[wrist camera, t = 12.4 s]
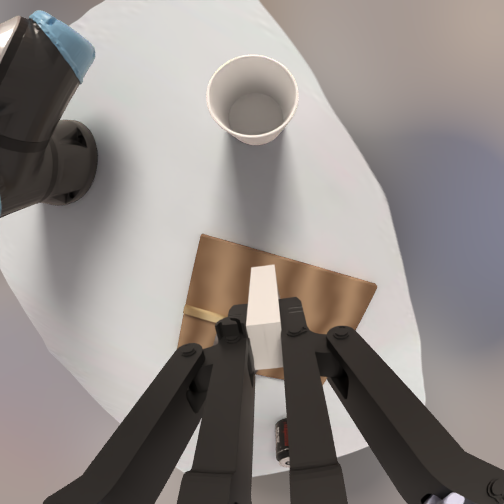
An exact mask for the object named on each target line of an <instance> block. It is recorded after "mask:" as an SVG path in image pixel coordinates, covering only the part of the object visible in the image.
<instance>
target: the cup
mask: <svg viewBox="0 0 504 504" xmlns="http://www.w3.org/2000/svg"><path fill="white" fill-rule="evenodd" d="M298 97H299V96H298V88H297V84H296V81H295V79H294V77H293V76H292V74H291V73H290V72H289V70H288V69H287V68H286V67H285V66H283V65H282V64H281V63H279V62H278V61H276V60H274V59H272V58H269V57H266V56H261V55H244V56H240V57H236V58H234V59H231V60H229V61H228V62H226V63H224V64H223V65H222V66H221V67H220V68H219V69H217V71H216V72H215V73H214V74H213V76H212V78H211V79H210V82H209V84H208V88H207V94H206V99H207V105H208V109H209V112H210V114H211V116H212V117H213V119H214V120H215V122H216V123H217V124H218V125H219V126H220V127H221V128H222V129H224V130H225V131H227V132H228V133H229V134H231V135H232V136H234V137H235V138H237V139H238V140H240V141H241V142H243V143H246V144H249V145H263V144H266V143H269V142H271V141H272V140H274V139H275V138H276V137H277V136H278V135H279V134H280V133H281V131H282V130H283V129H284V128H285V126H286V125H287V124H288V123H289V121H290V120H291V119H292V117H293V116H294V114H295V111H296V109H297V105H298Z"/></svg>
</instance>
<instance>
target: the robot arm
mask: <svg viewBox="0 0 504 504" xmlns="http://www.w3.org/2000/svg"><path fill="white" fill-rule="evenodd" d="M94 59H95V49H94V47H93V46H92V44H91V43H90V42H89V41H87V40H86V39H85V38H84V37H83V36H81V35H80V34H79V33H77V32H76V31H75V30H73V29H72V28H71V27H69V26H68V25H66V24H65V23H63V22H61V21H60V20H57V19H56V18H54V17H52V16H51V15H50V14H48V13H46V12H44V11H40V10H38V11H35V12H34V13H33V14H32V15H30V17H29V19H26V18H23V17H20V16H16V17H14V18H12V19H10V20H8V21H6V22H4V23H1V24H0V218H1V217H3V216H6V215H8V214H11V213H13V212H16V211H18V210H21V209H23V208H26V207H29V206H31V205H34V204H37V203H45V204H51V205H57V206H60V205H66V204H69V203H72V202H75V201H77V200H79V199H80V198H81V197H82V196H84V194H85V193H86V192H87V191H88V189H89V188H90V186H91V184H92V182H93V180H94V177H95V173H96V169H97V148H96V143H95V140H94V138H93V135H92V134H91V132H90V130H89V129H88V128H87V127H86V126H85V125H84V124H82V123H80V122H78V121H74V120H60V118H61V116H62V115H63V113H64V111H65V109H66V107H67V105H68V103H69V102H70V100H71V98H72V96H73V95H74V93H75V91H76V90H77V88H78V86H79V85H80V84H82V82H83V78H84V76H85V74H86V72H87V71H88V69H89V67H90V66H91V64H92V63H93V61H94ZM59 120H60V121H59ZM215 329H216V333H217V337H218V344H216V345H214V346H211V347H208V348H205V349H202V346H201V345H199V344H197V343H188V344H184V345H182V346H180V347H179V348H178V349H177V350H176V351H175V352H174V354H173V355H172V356H171V358H170V359H169V360H168V362H167V363H166V364H165V366H164V367H163V368H162V370H161V371H160V372H159V374H158V375H157V376H156V378H155V379H154V380H153V382H152V383H151V384H150V386H149V387H148V388H147V390H146V391H145V392H144V394H143V395H142V396H141V398H140V399H139V400H138V402H137V403H136V404H135V406H134V407H133V408H132V410H131V411H130V412H129V414H128V415H127V416H126V418H125V419H124V420H123V422H122V423H121V424H120V426H119V427H118V428H117V430H116V431H115V432H114V433H113V435H112V436H111V437H110V439H109V440H108V441H107V443H106V444H105V445H104V447H103V448H102V450H101V451H100V452H99V453H98V455H97V456H96V457H95V459H94V460H93V461H92V463H91V464H90V465H89V467H88V468H87V470H86V471H85V472H84V474H83V475H82V476H81V477H79V478H77V479H76V480H75V481H73V482H71V483H70V484H68V485H67V486H65V487H64V488H62V489H61V490H59V491H57V492H56V493H54V494H53V495H51V496H49V497H48V498H46V500H44V502H43V504H155V502H156V500H157V498H158V496H159V495H160V493H161V491H162V489H163V488H164V486H165V484H166V482H167V481H168V479H169V477H170V475H171V473H172V471H173V470H174V468H175V466H176V464H177V463H178V461H179V459H180V457H181V455H182V454H183V452H184V450H185V448H186V446H187V444H188V442H189V441H190V439H191V437H192V435H193V433H194V431H195V429H196V427H197V426H198V424H199V422H200V420H201V418H202V421H201V425H200V430H199V435H198V440H197V445H196V450H195V455H194V460H193V465H192V469H191V470H190V471H187V472H185V474H184V475H183V478H182V481H181V486H180V491H179V496H178V500H177V504H252V502H251V479H252V456H253V429H254V401H255V374H254V367H255V370H261V369H271V368H280V367H283V370H284V384H285V398H286V412H287V427H288V444H289V462H290V498H291V504H348V502H347V496H346V491H345V484H344V479H343V473H342V469H341V466H340V464H339V463H338V461H337V457H336V451H335V446H334V441H333V435H332V430H331V425H330V420H329V415H328V410H327V405H326V401H325V396H324V391H323V386H322V382H321V377H320V376H322V377H327V380H328V382H329V383H330V385H331V387H332V388H333V390H334V391H335V393H336V395H337V396H338V398H339V399H340V401H341V402H342V404H343V406H344V407H345V409H346V410H347V412H348V413H349V415H350V417H351V418H352V420H353V421H354V423H355V424H356V426H357V428H358V429H359V431H360V432H361V434H362V435H363V437H364V439H365V440H366V442H367V443H368V445H369V446H370V448H371V450H372V451H373V453H374V454H375V456H376V457H377V459H378V460H379V462H380V464H381V465H382V467H383V468H384V470H385V471H386V473H387V475H388V476H389V478H390V479H391V481H392V482H393V484H394V485H395V487H396V489H397V490H398V492H399V493H400V495H401V496H402V497H403V499H404V500H405V501H406V502H407V503H408V504H504V470H502V469H500V468H498V467H495V466H493V465H491V464H489V463H487V462H485V461H483V460H481V459H479V458H477V457H475V456H473V455H471V454H469V453H467V452H465V451H464V450H463V449H462V448H461V447H460V445H459V444H458V443H457V442H456V441H455V440H454V439H453V437H452V436H451V435H450V434H449V433H448V432H447V430H446V429H445V428H444V427H443V426H442V425H441V424H440V423H439V421H438V420H437V419H436V418H435V417H434V416H433V415H432V414H431V412H430V411H429V410H428V409H427V408H426V407H425V406H424V405H423V403H422V402H421V401H420V400H419V399H418V398H417V397H416V396H415V395H414V393H413V392H412V391H411V390H410V389H409V388H408V387H407V386H406V385H405V384H404V382H403V381H402V380H401V379H400V378H399V377H398V376H397V375H396V374H395V373H394V372H393V370H392V369H391V368H390V367H389V366H388V365H387V364H386V363H385V362H384V361H383V360H382V359H381V357H380V356H379V355H378V354H377V353H376V352H375V351H374V350H373V349H372V348H371V347H370V346H369V345H368V344H367V342H366V341H365V340H364V339H363V338H362V337H361V336H360V335H359V334H358V333H357V332H356V331H355V330H354V329H353V328H351V327H349V326H335V327H333V328H331V329H330V330H329V331H328V332H327V334H318V333H314V332H312V331H310V330H309V328H308V327H307V323H306V319H305V315H304V311H303V307H302V303H301V300H299V299H298V298H297V297H290V298H283V299H279V295H278V287H277V280H276V272H275V265H267V266H259V267H252V268H251V277H250V287H249V298H248V303H247V304H238V305H233V306H232V307H231V308H230V310H229V312H228V317H226V318H223V319H221V320H219V321H218V322H217V323H216V324H215Z"/></svg>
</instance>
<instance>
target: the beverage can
mask: <svg viewBox="0 0 504 504" xmlns="http://www.w3.org/2000/svg"><path fill="white" fill-rule="evenodd" d="M275 429H276V459H277V460H278V461H279V464H280V465H281V466H283V467H290V462H289V444H288V427H287V418H285V419H282V420H280V421H279V422H278V423H277V424H276V428H275Z"/></svg>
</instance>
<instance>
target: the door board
mask: <svg viewBox="0 0 504 504" xmlns="http://www.w3.org/2000/svg"><path fill="white" fill-rule="evenodd" d="M267 265H275V272H276V280H277V287H278V290H279V293H280V299H283V298H290V297H297V298H298V299H299V300H301V303H302V307H303V311H304V315H305V319H306V323H307V327H308V328H309V330H310V331H312V332H314V333H318V334H327V332H328V331H329V330H330V329H331V328H333V327H335V326H349V327H351V328H353V329H354V330H356V328H357V326H358V324H359V323H360V321H361V319H362V317H363V315H364V313H365V311H366V309H367V307H368V305H369V303H370V301H371V299H372V297H373V295H374V293H375V291H376V289H377V285H376V284H375V283H371V282H368V281H364V280H361V279H358V278H354V277H351V276H347V275H344V274H340V273H337V272H333V271H330V270H327V269H323V268H320V267H316V266H313V265H309V264H306V263H302V262H299V261H295V260H292V259H288V258H285V257H281V256H278V255H275V254H271V253H268V252H264V251H261V250H257V249H254V248H250V247H247V246H243V245H240V244H236V243H233V242H229V241H226V240H222V239H219V238H215V237H212V236H208V235H205V234H202V235H201V237H200V241H199V245H198V250H197V254H196V258H195V263H194V267H193V272H192V276H191V281H190V286H189V290H188V295H187V300H186V305H185V307H184V311H183V313H184V315H183V320H182V325H181V331H180V336H179V342H178V347H177V349H178V348H179V347H180V346H182V345H184V344H188V343H197V344H199V345H201V346H202V349H205V348H208V347H211V346H214V345H216V344H218V337H217V333H216V329H215V324H216V323H217V322H218V321H219V320H221V319H223V318H226V317H228V312H229V310H230V308H231V307H232V306H233V305H238V304H247V303H248V298H249V287H250V277H251V268H252V267H259V266H267ZM256 374H258V375H263V376H268V377H273V378H278V379H283V380H284V370H283V367H280V368H271V369H261V370H258V372H257V373H256ZM320 377H321V382H322V385H323V384H324V382H325V381H326V379H327V377H322V376H320Z"/></svg>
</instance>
